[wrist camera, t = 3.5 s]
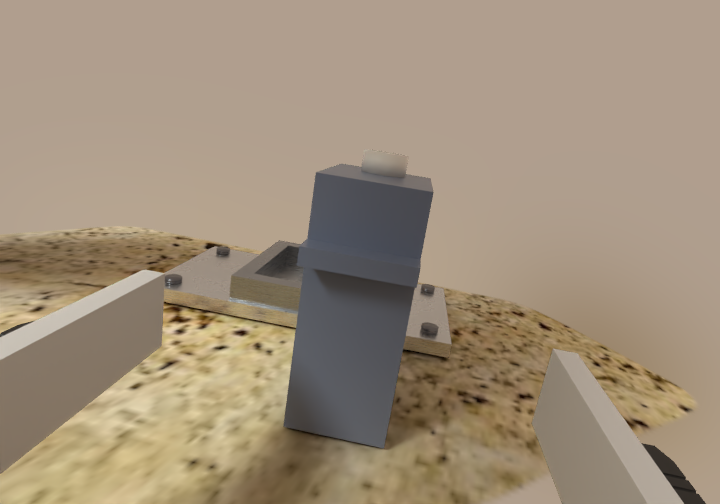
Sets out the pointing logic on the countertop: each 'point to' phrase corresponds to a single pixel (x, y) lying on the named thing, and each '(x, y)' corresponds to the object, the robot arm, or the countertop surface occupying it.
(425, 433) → the countertop surface
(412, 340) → the chassis
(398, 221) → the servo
